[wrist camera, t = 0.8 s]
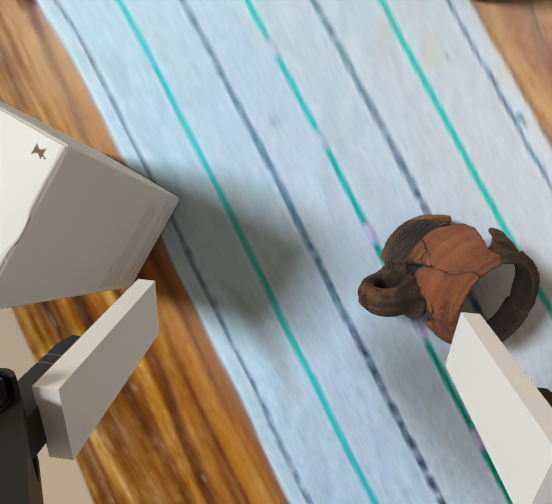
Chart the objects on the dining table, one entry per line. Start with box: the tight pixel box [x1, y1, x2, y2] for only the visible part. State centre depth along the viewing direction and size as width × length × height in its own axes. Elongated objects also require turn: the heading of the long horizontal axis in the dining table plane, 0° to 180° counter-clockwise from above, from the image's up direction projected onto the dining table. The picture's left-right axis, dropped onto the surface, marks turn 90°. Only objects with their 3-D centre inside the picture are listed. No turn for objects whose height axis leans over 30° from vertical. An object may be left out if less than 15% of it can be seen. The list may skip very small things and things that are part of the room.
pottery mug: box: [358, 215, 540, 344], centre depth 27 cm, size 12×10×8 cm
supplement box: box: [0, 101, 179, 309], centre depth 24 cm, size 9×9×15 cm
